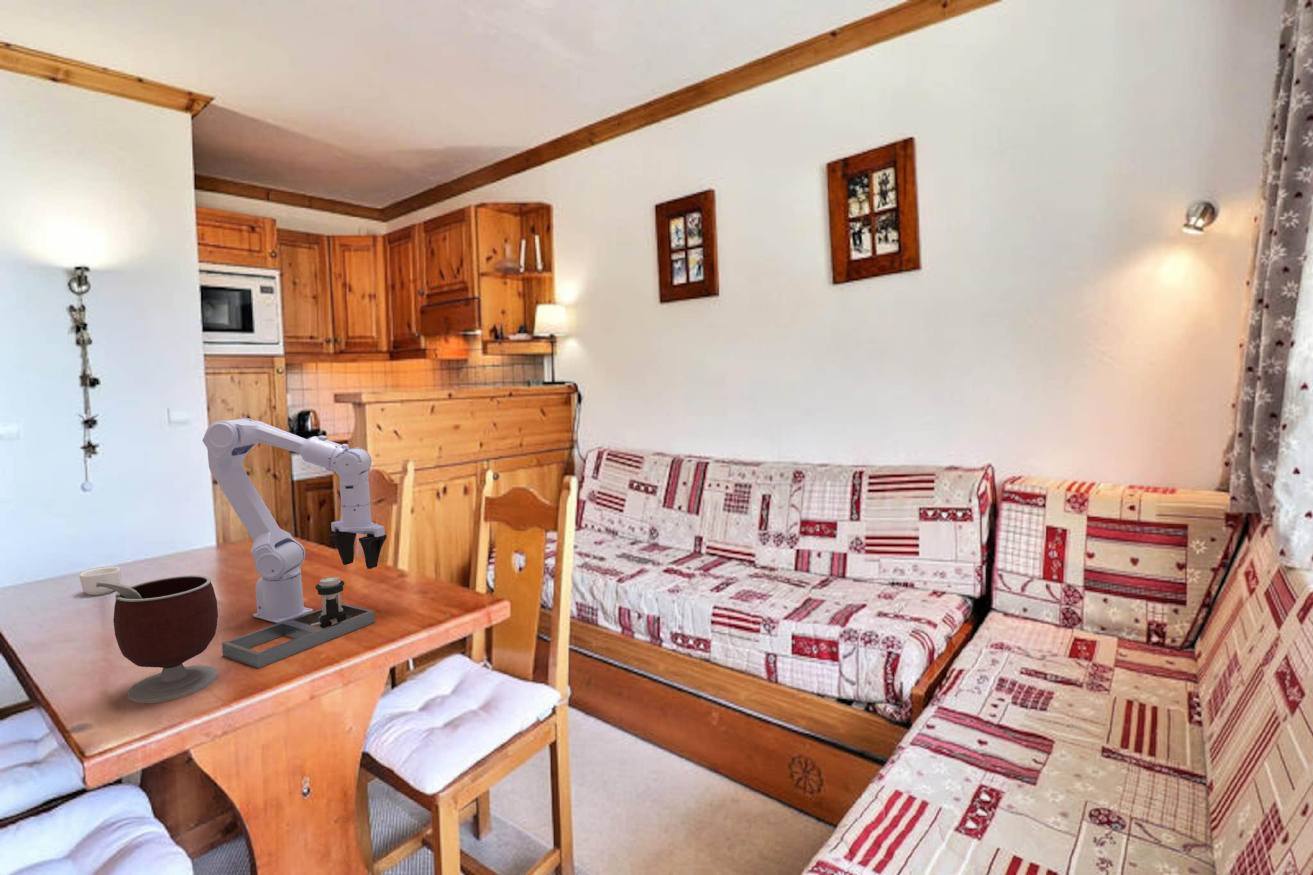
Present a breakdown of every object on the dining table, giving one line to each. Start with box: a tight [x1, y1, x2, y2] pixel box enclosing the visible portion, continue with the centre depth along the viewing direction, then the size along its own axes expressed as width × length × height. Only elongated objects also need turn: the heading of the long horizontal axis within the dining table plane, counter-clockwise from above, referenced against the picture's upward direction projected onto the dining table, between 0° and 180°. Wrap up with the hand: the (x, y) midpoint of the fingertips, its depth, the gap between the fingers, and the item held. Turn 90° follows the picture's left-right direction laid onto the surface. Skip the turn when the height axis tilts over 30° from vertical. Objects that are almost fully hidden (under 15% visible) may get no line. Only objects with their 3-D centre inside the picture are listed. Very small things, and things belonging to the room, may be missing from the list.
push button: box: [311, 576, 347, 629], centre depth 133 cm, size 7×5×10 cm
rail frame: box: [221, 602, 376, 669], centre depth 129 cm, size 12×24×2 cm, turn 150°
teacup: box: [78, 566, 121, 596], centre depth 161 cm, size 10×8×5 cm
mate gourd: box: [96, 574, 219, 704], centre depth 109 cm, size 16×14×20 cm
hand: (360, 565), depth 142 cm, fingers open, 7 cm apart
